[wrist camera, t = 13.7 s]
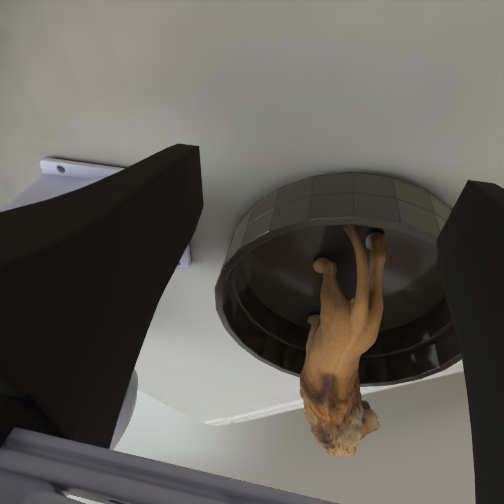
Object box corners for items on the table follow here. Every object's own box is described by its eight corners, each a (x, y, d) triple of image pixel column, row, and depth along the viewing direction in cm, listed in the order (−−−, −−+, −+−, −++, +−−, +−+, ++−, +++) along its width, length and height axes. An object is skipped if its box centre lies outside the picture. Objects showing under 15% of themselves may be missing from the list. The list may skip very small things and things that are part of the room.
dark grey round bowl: (232, 316, 31) (218, 362, 28) (230, 151, 20) (209, 195, 17) (417, 350, 29) (426, 403, 26) (526, 189, 18) (565, 246, 15)
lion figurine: (372, 351, 29) (381, 472, 22) (308, 346, 30) (298, 459, 24) (390, 203, 20) (415, 335, 13) (296, 205, 21) (275, 327, 14)
